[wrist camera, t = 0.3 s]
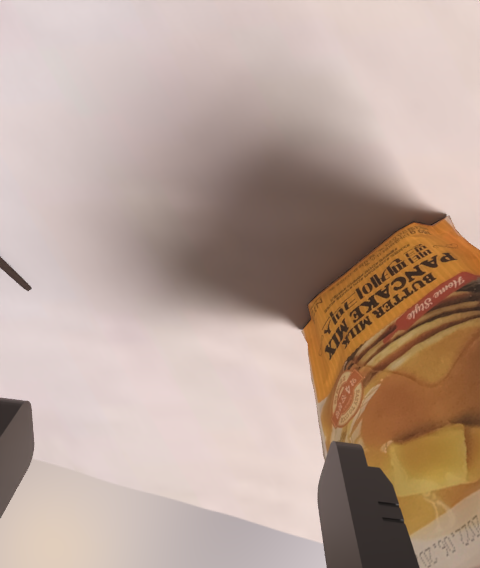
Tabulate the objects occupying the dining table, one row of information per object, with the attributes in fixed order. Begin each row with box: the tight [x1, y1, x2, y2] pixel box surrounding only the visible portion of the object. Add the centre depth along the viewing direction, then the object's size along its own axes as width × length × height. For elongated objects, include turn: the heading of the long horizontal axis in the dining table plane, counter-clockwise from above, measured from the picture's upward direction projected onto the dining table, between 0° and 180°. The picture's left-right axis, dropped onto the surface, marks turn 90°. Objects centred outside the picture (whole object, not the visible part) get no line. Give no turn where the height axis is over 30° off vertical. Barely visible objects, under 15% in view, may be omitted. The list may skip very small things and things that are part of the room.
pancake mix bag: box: [301, 216, 480, 568], centre depth 29 cm, size 7×19×28 cm, turn 134°
